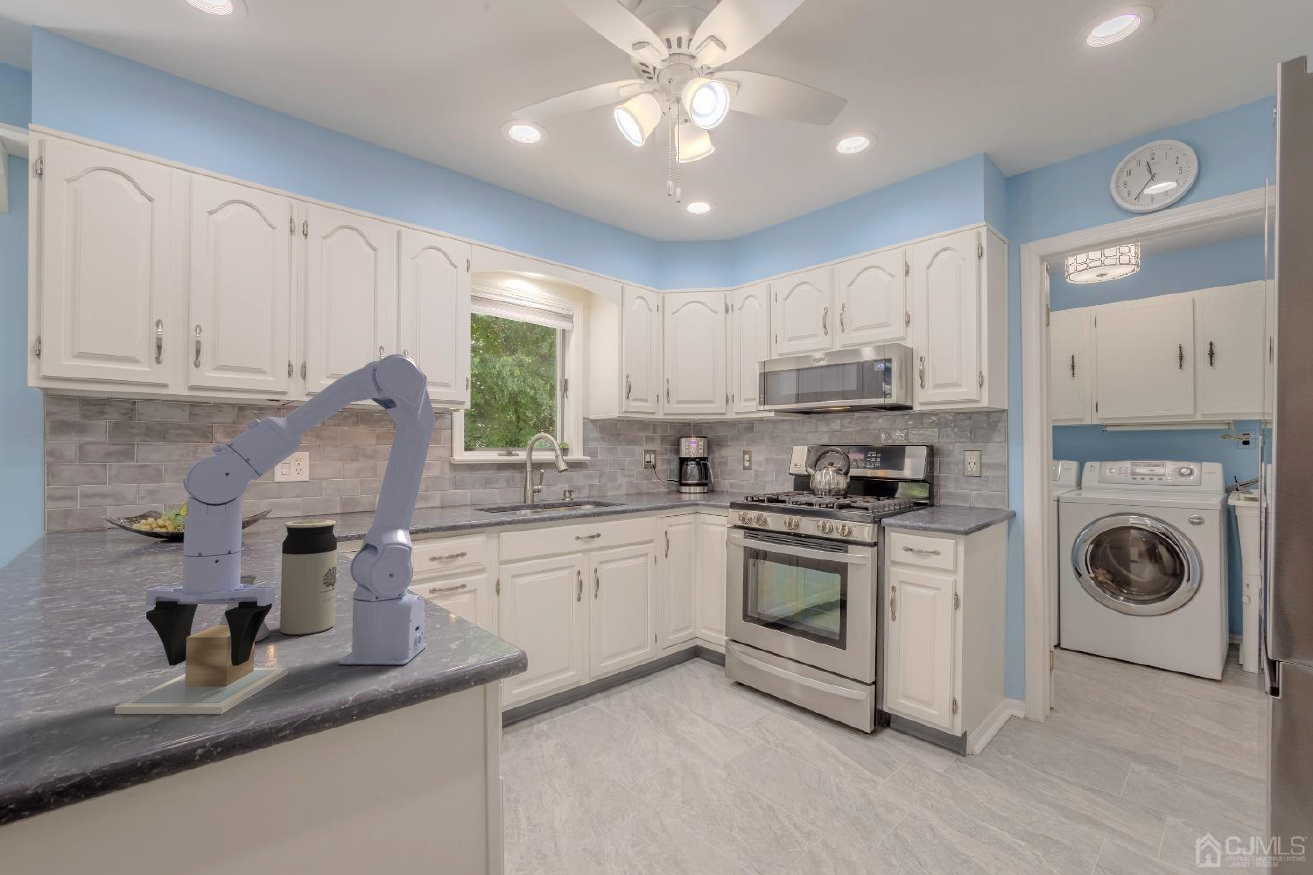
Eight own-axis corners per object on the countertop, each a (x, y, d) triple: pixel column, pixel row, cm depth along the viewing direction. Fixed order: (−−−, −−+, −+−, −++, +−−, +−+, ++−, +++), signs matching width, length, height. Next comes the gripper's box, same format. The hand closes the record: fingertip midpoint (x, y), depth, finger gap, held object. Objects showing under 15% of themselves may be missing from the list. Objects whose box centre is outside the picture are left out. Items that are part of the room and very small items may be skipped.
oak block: (253, 671, 76) (255, 625, 76) (226, 686, 71) (227, 637, 71) (215, 671, 76) (216, 625, 76) (184, 686, 71) (186, 637, 71)
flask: (239, 649, 87) (241, 583, 87) (199, 646, 88) (202, 580, 88) (279, 635, 94) (281, 573, 94) (242, 631, 95) (244, 571, 96)
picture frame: (287, 673, 77) (287, 666, 77) (221, 713, 65) (222, 705, 65) (197, 673, 77) (197, 666, 77) (114, 713, 65) (115, 705, 65)
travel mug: (267, 634, 94) (271, 523, 95) (307, 620, 102) (309, 518, 102) (308, 637, 92) (311, 525, 93) (345, 623, 100) (348, 520, 101)
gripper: (125, 558, 68) (120, 674, 67) (249, 558, 68) (246, 675, 67) (174, 548, 75) (170, 653, 74) (287, 549, 75) (284, 654, 74)
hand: (209, 662), depth 71 cm, fingers open, 7 cm apart
